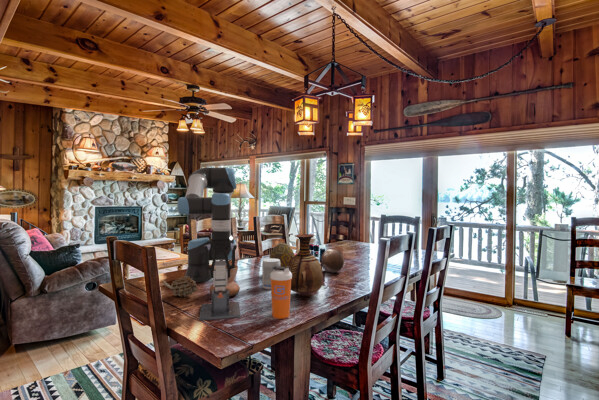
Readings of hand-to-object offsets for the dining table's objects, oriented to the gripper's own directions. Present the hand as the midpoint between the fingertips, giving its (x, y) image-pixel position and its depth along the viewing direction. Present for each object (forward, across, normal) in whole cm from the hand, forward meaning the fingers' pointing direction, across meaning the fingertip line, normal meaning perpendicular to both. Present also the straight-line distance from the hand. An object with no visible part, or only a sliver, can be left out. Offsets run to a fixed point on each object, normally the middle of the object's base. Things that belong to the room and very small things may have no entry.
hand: (220, 285), depth 138 cm
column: (+10, 0, 0) cm, 10 cm away
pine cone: (+11, -20, +26) cm, 35 cm away
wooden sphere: (+11, +69, +56) cm, 90 cm away
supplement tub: (+11, +26, +31) cm, 42 cm away
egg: (+11, +36, +54) cm, 66 cm away
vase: (+11, +40, +14) cm, 44 cm away
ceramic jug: (+11, +2, +23) cm, 26 cm away
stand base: (+11, 0, 0) cm, 11 cm away
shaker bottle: (+11, +24, -10) cm, 28 cm away
